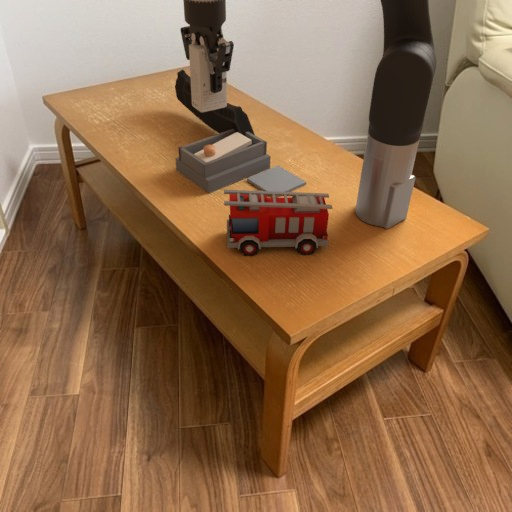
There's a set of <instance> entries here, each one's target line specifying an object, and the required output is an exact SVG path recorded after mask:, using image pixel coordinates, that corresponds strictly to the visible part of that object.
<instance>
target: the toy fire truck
mask: <svg viewBox="0 0 512 512" xmlns="http://www.w3.org/2000/svg"><path fill="white" fill-rule="evenodd" d="M223 194H224V195H229V196H228V197H229V200H224V201H223V202H224V203H223V204H224V206H227V207H229V214H228V219H226V238H227V239H226V240H227V242H226V243H227V248H228V249H231V248H233V249H235V248H236V249H237V250H240V253H241V254H242V255H243V256H244V257H253V256H256V255H257V254H258V252H259V250H261V249H262V248H288V247H289V248H290V247H293V248H294V247H295V249H297V251H298V252H299V254H301V255H302V256H310V255H312V254H314V253H315V252H316V250H317V249H319V247H328V246H329V239H328V237H329V235H328V226H329V225H328V224H329V217H330V214H329V210H333V205H332V204H326V198H330V194H329V193H327V192H326V193H325V192H324V193H323V192H322V193H321V192H301V191H300V192H298V191H294V192H293V191H290V192H275V191H262V190H247V189H246V190H244V189H243V190H242V189H223ZM269 196H270V197H269ZM272 196H273V197H272ZM275 196H279V197H277V198H275Z"/></svg>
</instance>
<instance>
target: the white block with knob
mask: <svg viewBox="0 0 512 512" xmlns="http://www.w3.org/2000/svg"><path fill="white" fill-rule="evenodd" d="M251 144H252V140H251V139H249V138H247V137H245V136H244V135H242V134H240V133H238V132H236V133H234V134H232V135H230V136H228V137H226V138H224V139H222V140H220V141H218V142H216V143H214V144H212V145H206V146H204V148H203V150H201V151H199V152H197V153H195V154H194V155H195V156H197V157H198V158H200V159H201V160H203V161H204V162H209V161H211V160H214V159H217V158H219V157H222V156H225V155H227V154H230V153H233V152H235V151H238V150H241V149H243V148H245V147H247V146H249V145H251Z"/></svg>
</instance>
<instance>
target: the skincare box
mask: <svg viewBox="0 0 512 512" xmlns="http://www.w3.org/2000/svg"><path fill="white" fill-rule="evenodd" d="M217 54H218V51H217V52H216V53H213V54H210V55H211V56H215V55H217ZM189 58H190V60H189V74H190V75H189V76H190V77H191V96H192V106H193V107H194V108H196V109H197V110H198V111H200V112H201V113H202V112H207V111H211V110H216V109H220V108H224V107H226V106H227V103H228V93H227V92H228V91H227V90H228V85H227V81H228V80H227V72H228V71H227V72H223V73H222V90H221V91H220V92H217V93H213V92H211V88H210V74H211V73H210V69H209V64H208V62H206V60H205V50H204V49H203V47H202V46H200V45H194V44H190V45H189ZM216 63H217V60H214V66H215V67H216ZM224 63H225V62H224ZM224 63H223V65H224Z"/></svg>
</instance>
